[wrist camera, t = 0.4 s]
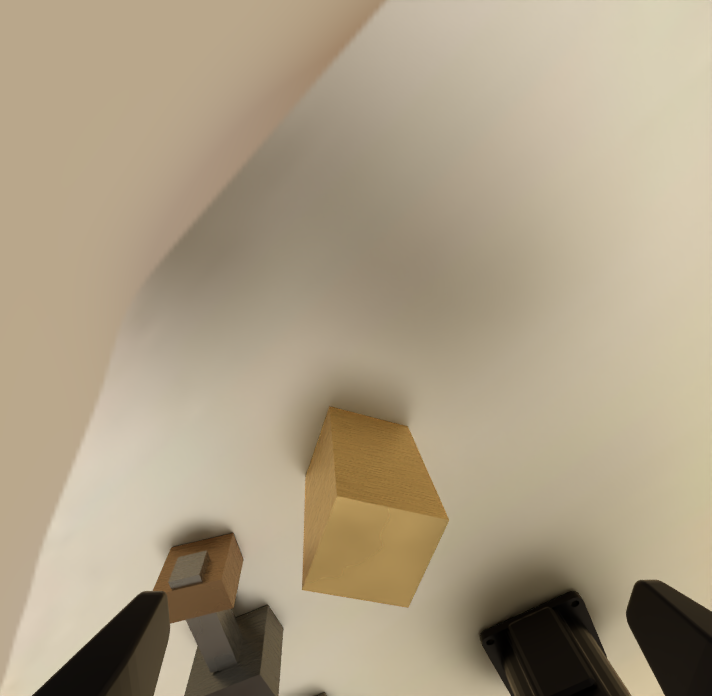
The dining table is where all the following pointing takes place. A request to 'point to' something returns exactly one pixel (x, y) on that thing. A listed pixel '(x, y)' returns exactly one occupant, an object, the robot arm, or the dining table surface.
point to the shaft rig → (221, 621)
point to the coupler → (368, 511)
